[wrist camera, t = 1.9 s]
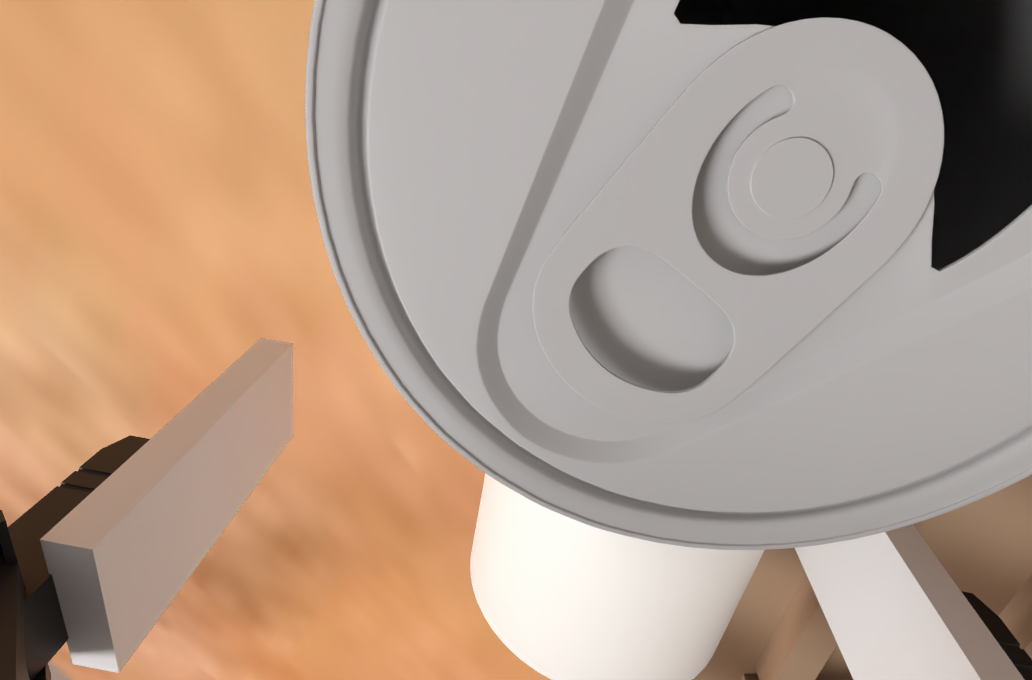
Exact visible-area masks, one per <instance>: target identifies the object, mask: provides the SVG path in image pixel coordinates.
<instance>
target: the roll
mask: <svg viewBox="0 0 1032 680" xmlns="http://www.w3.org/2000/svg"><path fill="white" fill-rule="evenodd" d="M763 552H764V550H718V549H705V548H693V547H684V546H677V545H670V544H663V543H657V542H652V541H647V540H642V539H638V538H633V537H628V536H624V535H620V534H617V533H613V532H609V531H605V530H602V529H599V528H596V527H593V526H590V525H586V524H584V523H581V522H579V521H576V520H574V519H571V518H569V517H566V516H564V515H561V514H559V513H556V512H554V511H552V510H549V509H547V508H545V507H543V506H541V505H539V504H537V503H535V502H533V501H531V500H529V499H527V498H526V497H524V496H522V495H520V494H519V493H517V492H515V491H513V490H512V489H510V488H508V487H506V486H505V485H503V484H501V483H500V482H498V481H496V480H495V479H493V478H492V477H490V476H489V475H487V474H486V473H485V479H484V485H483V490H482V496H481V502H480V507H479V513H478V519H477V524H476V530H475V536H474V541H473V547H472V553H471V558H470V574H471V580H472V587H473V590H474V593H475V597H476V600H477V602H478V605H479V607H480V609H481V611H482V613H483V615H484V617H485V619H486V620H487V622H488V623H489V625H490V626H491V628H492V630H493V631H494V632H495V633H496V635H497V636H498V637H499V638H500V639H501V641H502V642H503V643H504V644H505V645H506V646H507V647H508V648H509V649H510V650H511V651H512V652H513V653H514V654H515V655H516V656H517V657H518V658H519V659H521V660H522V661H523V662H525V663H526V664H527V665H529V666H530V667H531V668H533V669H534V670H536V671H537V672H539V673H541V674H542V675H544V676H546V677H548V678H549V679H551V680H692V679H694V678H695V677H696V676H697V675H698V674H699V673H700V672H701V671H702V670H703V669H704V668H705V667H706V665H707V664H708V662H709V661H710V659H711V658H712V656H713V654H714V652H715V650H716V648H717V646H718V644H719V642H720V640H721V638H722V636H723V634H724V632H725V630H726V628H727V626H728V624H729V622H730V620H731V618H732V616H733V614H734V612H735V610H736V608H737V606H738V603H739V601H740V599H741V597H742V595H743V593H744V591H745V589H746V587H747V585H748V583H749V581H750V579H751V577H752V575H753V573H754V571H755V569H756V567H757V565H758V563H759V561H760V559H761V557H762V555H763Z"/></svg>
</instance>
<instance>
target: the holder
mask: <svg viewBox="0 0 1032 680" xmlns="http://www.w3.org/2000/svg"><path fill="white" fill-rule="evenodd" d="M913 525H914V527H915V528H916V529H917V531H918V532H919V534H920V535H921V536H922V538H923V539H924V540H925V542H926V543H927V545H928V546H929V547H930V549H931V550H932V552H933V553H934V554H935V556H936V557H937V559H938V560H939V561H940V563H941V564H942V565H943V567H944V568H945V570H946V571H947V572H948V574H949V575H950V577H951V578H952V579H953V581H954V582H955V584H956V585H957V586H958V588H959V589H960V591H963V592H968V593H973V594H974V595H975V596H976V597H977V598H978V599H980V600H981V601H982V602H983V603H984V604H985V605H986V606H987V607H989V608H990V609H991V610H992V611H993V612H994V613H995V614H996V615H997V616H999V617H1000V618H1001V620H1002V621H1003V622H1004V624H1005V625H1006V626H1007V628H1008V629H1009V630H1010V632H1011V633H1012V634H1013V636H1014V637H1015V638H1016V639H1017V641H1018V642H1019V643H1020V649H1024V650H1025V651H1026V653H1027V654H1028V655H1029V657H1030V658H1031V659H1032V475H1030V476H1028V477H1026V478H1024V479H1022V480H1020V481H1018V482H1016V483H1014V484H1012V485H1010V486H1008V487H1006V488H1004V489H1002V490H1000V491H998V492H996V493H993V494H991V495H989V496H987V497H984V498H982V499H979V500H977V501H975V502H972V503H970V504H968V505H965V506H963V507H960V508H958V509H956V510H953V511H950V512H947V513H944V514H941V515H939V516H936V517H933V518H930V519H927V520H924V521H922V522H918V523H915V524H913ZM692 680H853V678H852V675H851V673H850V671H849V669H848V667H847V664H846V662H845V660H844V658H843V655H842V653H841V651H840V649H839V646H838V644H837V642H836V640H835V637H834V635H833V633H832V631H831V628H830V626H829V624H828V622H827V619H826V617H825V615H824V613H823V610H822V608H821V606H820V604H819V601H818V599H817V597H816V595H815V593H814V590H813V588H812V586H811V584H810V581H809V579H808V577H807V575H806V572H805V570H804V568H803V566H802V563H801V561H800V559H799V557H798V554H797V552H796V550H795V548H787V549H767V550H764V552H763V555H762V557H761V559H760V561H759V563H758V565H757V567H756V569H755V571H754V573H753V575H752V577H751V579H750V581H749V583H748V585H747V587H746V589H745V591H744V593H743V595H742V597H741V599H740V601H739V603H738V606H737V608H736V610H735V612H734V614H733V616H732V618H731V620H730V622H729V624H728V626H727V628H726V630H725V632H724V634H723V636H722V638H721V640H720V642H719V644H718V646H717V648H716V650H715V652H714V654H713V656H712V658H711V659H710V661H709V662H708V664H707V665H706V667H705V668H704V669H703V670H702V671H701V672H700V673H699V674H698V675H697V676H696V677H695V678H694V679H692Z"/></svg>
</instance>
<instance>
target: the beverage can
mask: <svg viewBox="0 0 1032 680" xmlns="http://www.w3.org/2000/svg"><path fill="white" fill-rule="evenodd" d="M305 120H306V137H307V154H308V163H309V170H310V177H311V184H312V191H313V198H314V202H315V207H316V211H317V216H318V220H319V224H320V229H321V233H322V237H323V240H324V244H325V247H326V250H327V253H328V256H329V260H330V263H331V266H332V269H333V272H334V275H335V277H336V279H337V282H338V284H339V287H340V289H341V292H342V294H343V297H344V299H345V302H346V304H347V306H348V308H349V310H350V312H351V314H352V316H353V318H354V320H355V322H356V324H357V326H358V328H359V330H360V332H361V334H362V336H363V338H364V339H365V341H366V343H367V344H368V346H369V348H370V349H371V351H372V353H373V354H374V356H375V357H376V359H377V361H378V362H379V364H380V366H381V367H382V368H383V370H384V371H385V373H386V374H387V376H388V377H389V378H390V380H391V381H392V383H393V384H394V386H395V387H396V388H397V390H398V391H399V392H400V393H401V395H402V396H403V397H404V398H405V399H406V401H407V402H408V403H409V404H410V405H411V406H412V408H413V409H414V410H415V411H416V412H417V413H418V414H419V415H420V416H421V417H422V418H423V419H424V421H425V422H426V423H427V424H428V425H429V426H430V427H431V428H432V429H433V430H434V431H435V432H436V433H437V434H438V435H439V436H440V437H441V438H442V439H443V440H444V441H446V442H447V443H448V444H449V445H450V446H451V447H453V448H454V449H455V450H456V451H458V452H459V453H460V454H461V455H463V456H464V457H465V458H466V459H468V460H469V461H470V462H471V463H473V464H474V465H475V466H476V467H478V468H479V469H480V470H482V471H483V472H484V473H486V474H487V475H489V476H490V477H492V478H493V479H495V480H496V481H498V482H500V483H501V484H503V485H505V486H506V487H508V488H510V489H512V490H513V491H515V492H517V493H519V494H520V495H522V496H524V497H526V498H527V499H529V500H531V501H533V502H535V503H537V504H539V505H541V506H543V507H545V508H547V509H549V510H552V511H554V512H556V513H559V514H561V515H564V516H566V517H569V518H571V519H574V520H576V521H579V522H581V523H584V524H586V525H590V526H593V527H596V528H599V529H602V530H605V531H609V532H613V533H617V534H620V535H624V536H628V537H633V538H638V539H642V540H647V541H652V542H657V543H663V544H670V545H677V546H684V547H693V548H705V549H718V550H767V549H787V548H796V547H806V546H815V545H822V544H828V543H834V542H840V541H846V540H852V539H857V538H861V537H865V536H870V535H874V534H879V533H883V532H887V531H891V530H894V529H897V528H901V527H904V526H908V525H911V524H915V523H918V522H922V521H924V520H927V519H930V518H933V517H936V516H939V515H941V514H944V513H947V512H950V511H953V510H956V509H958V508H960V507H963V506H965V505H968V504H970V503H972V502H975V501H977V500H979V499H982V498H984V497H987V496H989V495H991V494H993V493H996V492H998V491H1000V490H1002V489H1004V488H1006V487H1008V486H1010V485H1012V484H1014V483H1016V482H1018V481H1020V480H1022V479H1024V478H1026V477H1028V476H1030V475H1032V0H315V3H314V9H313V14H312V19H311V27H310V37H309V46H308V56H307V66H306V98H305Z"/></svg>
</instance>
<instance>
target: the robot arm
mask: <svg viewBox="0 0 1032 680" xmlns="http://www.w3.org/2000/svg"><path fill="white" fill-rule="evenodd" d="M292 437H293V344H292V343H287V342H281V341H276V340H271V339H265V338H261V339H260V340H259V341H258V342H257V343H255V344H254V345H253V346H252V347H251V348H250V349H249V350H248V351H247V352H246V353H244V354H243V355H242V356H241V357H240V358H239V359H238V360H237V361H236V362H235V363H233V364H232V365H231V366H230V367H229V368H228V369H227V370H226V371H225V372H224V373H222V374H221V375H220V376H219V377H218V378H217V379H216V380H215V381H214V382H213V383H211V384H210V385H209V386H208V387H207V388H206V389H205V390H204V391H203V392H202V393H201V394H199V395H198V396H197V397H196V398H195V399H194V400H193V401H192V402H191V403H190V404H188V405H187V406H186V407H185V408H184V409H183V410H182V411H181V412H180V413H179V414H177V415H176V416H175V417H174V418H173V419H172V420H171V421H170V422H169V423H168V424H166V425H165V426H164V427H163V428H162V429H161V430H160V431H159V432H158V433H157V434H155V435H154V436H153V437H152V438H151V439H146V438H141V437H135V436H128V437H126V438H124V439H122V440H120V441H118V442H116V443H113V444H111V445H109V446H107V447H105V448H103V449H101V450H100V451H99V452H97V453H96V454H95V455H94V456H93V457H91V458H90V459H89V460H88V461H87V462H85V463H84V464H83V465H82V466H81V467H79V471H75V472H73V473H72V474H71V475H70V476H69V477H67V478H66V479H65V480H64V481H63V482H62V483H61V486H60V487H58V486H57V487H56V488H54V489H53V490H52V491H51V492H50V493H48V494H47V495H46V496H45V497H44V498H42V499H41V500H40V501H39V502H38V503H36V504H35V505H34V506H33V507H32V508H30V509H29V510H28V511H27V512H26V513H24V514H23V515H22V516H21V517H20V518H18V519H17V520H16V521H15V522H14V523H12V524H11V525H10V526H9V527H7V524H6V520H5V518H4V515H3V513H2V510H0V680H51V673H50V669H49V666H48V662H49V661H50V660H51V658H52V657H53V656H54V655H55V654H56V653H57V651H58V650H59V649H60V648H61V647H62V646H63V645H64V643H65V642H66V641H67V644H68V647H69V651H70V655H71V659H72V662H73V664H75V665H80V666H85V667H91V668H96V669H101V670H106V671H111V672H117V673H119V672H120V671H121V670H122V668H123V667H124V666H125V664H126V663H127V662H128V660H129V659H130V657H131V656H132V655H133V653H134V652H135V651H136V649H137V648H138V647H139V645H140V644H141V642H142V641H143V640H144V638H145V637H146V636H147V634H148V633H149V632H150V630H151V629H152V628H153V626H154V625H155V623H156V622H157V621H158V619H159V618H160V617H161V615H162V614H163V613H164V611H165V610H166V608H167V607H168V606H169V604H170V603H171V602H172V600H173V599H174V598H175V596H176V595H177V594H178V592H179V591H180V589H181V588H182V587H183V585H184V584H185V583H186V581H187V580H188V579H189V577H190V576H191V574H192V573H193V572H194V570H195V569H196V568H197V566H198V565H199V564H200V562H201V561H202V559H203V558H204V557H205V555H206V554H207V553H208V551H209V550H210V549H211V547H212V546H213V545H214V543H215V542H216V540H217V539H218V538H219V536H220V535H221V534H222V532H223V531H224V530H225V528H226V527H227V525H228V524H229V523H230V521H231V520H232V519H233V517H234V516H235V515H236V513H237V512H238V511H239V509H240V508H241V506H242V505H243V504H244V502H245V501H246V500H247V498H248V497H249V496H250V494H251V493H252V491H253V490H254V489H255V487H256V486H257V485H258V483H259V482H260V481H261V479H262V478H263V476H264V475H265V474H266V472H267V471H268V470H269V468H270V467H271V466H272V464H273V463H274V462H275V460H276V459H277V457H278V456H279V455H280V453H281V452H282V451H283V449H284V448H285V447H286V445H287V444H288V442H289V441H290V440H291V438H292ZM795 550H796V552H797V554H798V557H799V559H800V561H801V563H802V566H803V568H804V570H805V572H806V575H807V577H808V579H809V581H810V584H811V586H812V588H813V590H814V593H815V595H816V597H817V599H818V601H819V604H820V606H821V608H822V610H823V613H824V615H825V617H826V619H827V622H828V624H829V626H830V628H831V631H832V633H833V635H834V637H835V640H836V642H837V644H838V646H839V649H840V651H841V653H842V655H843V658H844V660H845V662H846V664H847V667H848V669H849V671H850V673H851V675H852V678H853V680H1032V659H1031V658H1030V657H1029V655H1028V654H1027V653H1026V651H1025V650H1024V649H1020V643H1019V642H1018V641H1017V639H1016V638H1015V637H1014V636H1013V634H1012V633H1011V632H1010V630H1009V629H1008V628H1007V626H1006V625H1005V624H1004V622H1003V621H1002V620H1001V618H1000V617H999V616H997V615H996V614H995V613H994V612H993V611H992V610H991V609H990V608H989V607H987V606H986V605H985V604H984V603H983V602H982V601H981V600H980V599H978V598H977V597H976V596H975V595H974V594H973V593H968V592H963V591H960V589H959V588H958V586H957V585H956V584H955V582H954V581H953V579H952V578H951V577H950V575H949V574H948V572H947V571H946V570H945V568H944V567H943V565H942V564H941V563H940V561H939V560H938V559H937V557H936V556H935V554H934V553H933V552H932V550H931V549H930V547H929V546H928V545H927V543H926V542H925V540H924V539H923V538H922V536H921V535H920V534H919V532H918V531H917V529H916V528H915V527H914V525H913V524H911V525H908V526H904V527H901V528H897V529H894V530H891V531H887V532H883V533H879V534H874V535H870V536H865V537H861V538H857V539H852V540H846V541H840V542H834V543H828V544H822V545H815V546H806V547H796V548H795Z"/></svg>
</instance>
